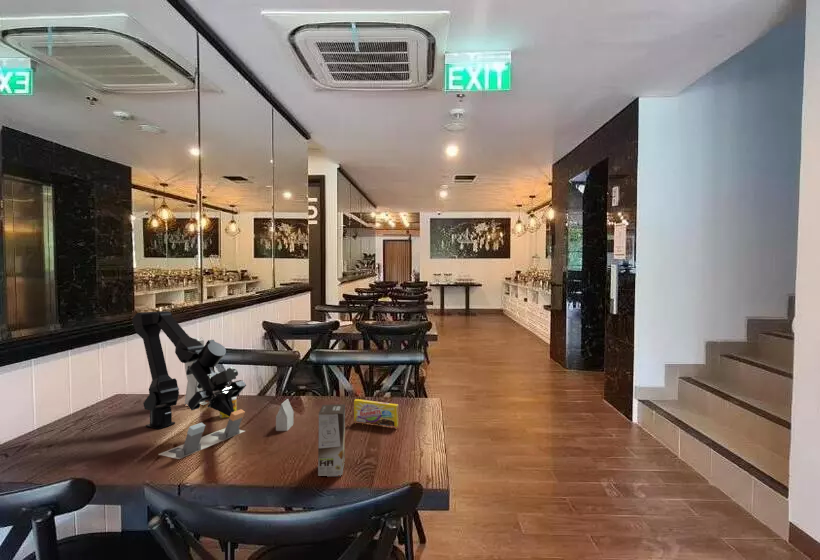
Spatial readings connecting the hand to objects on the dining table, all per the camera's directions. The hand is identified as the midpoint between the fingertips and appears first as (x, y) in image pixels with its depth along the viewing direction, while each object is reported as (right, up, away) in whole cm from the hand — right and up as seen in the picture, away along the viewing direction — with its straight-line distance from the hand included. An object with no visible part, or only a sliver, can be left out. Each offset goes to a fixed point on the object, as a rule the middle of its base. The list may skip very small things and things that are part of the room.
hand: (233, 415), depth 142 cm
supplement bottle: (-10, -8, +22) cm, 25 cm away
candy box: (+42, -9, +17) cm, 46 cm away
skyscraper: (-31, -8, +41) cm, 52 cm away
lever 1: (-7, -6, -13) cm, 16 cm away
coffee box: (+33, -9, -20) cm, 40 cm away
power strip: (-7, -8, -4) cm, 11 cm away
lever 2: (-1, -6, +1) cm, 7 cm away
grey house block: (+13, -8, +10) cm, 18 cm away
